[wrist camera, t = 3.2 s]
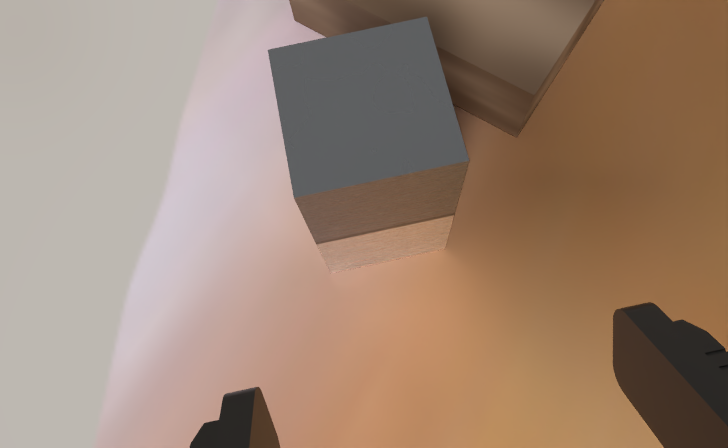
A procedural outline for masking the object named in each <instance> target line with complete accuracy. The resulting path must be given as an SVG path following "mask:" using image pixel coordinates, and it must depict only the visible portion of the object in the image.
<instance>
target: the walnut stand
mask: <svg viewBox="0 0 728 448" xmlns="http://www.w3.org/2000/svg"><path fill="white" fill-rule="evenodd" d="M289 1H290V5H291V8H292V12H293V16H294V20H295V21H297V22H299V23H301V24H303V25H304V26H306V27H308V28H310V29H312V30H314V31H316V32H318V33H320V34H322V35H323V36H325V37H332V36H337V35H341V34H346V33H351V32H356V31H360V30H365V29H370V28H375V27H379V26H384V25H389V24H394V23H399V22H403V21H408V20H413V19H418V18H422V17H427V18H428V22H429V25H430V29H431V32H432V35H433V39H434V42H435V46H436V49H437V52H438V56H439V59H440V63H441V66H442V70H443V73H444V76H445V80H446V83H447V87H448V90H449V93H450V97H451V100H452V104H454V105H456V106H458V107H460V108H462V109H464V110H465V111H467V112H469V113H471V114H473V115H475V116H477V117H479V118H481V119H482V120H484V121H486V122H488V123H490V124H492V125H494V126H496V127H498V128H500V129H501V130H503V131H505V132H507V133H509V134H511V135H513V136H515V137H517V136H518V135H519V133H520V132H521V130H522V129H523V127H524V125H525V124H526V122H527V121H528V119H529V118H530V116H531V114H532V113H533V111H534V110H535V108H536V107H537V105H538V103H539V102H540V100H541V99H542V97H543V96H544V94H545V92H546V91H547V89H548V88H549V86H550V84H551V83H552V81H553V80H554V78H555V77H556V75H557V73H558V72H559V70H560V69H561V67H562V66H563V64H564V62H565V61H566V59H567V58H568V56H569V55H570V53H571V51H572V50H573V48H574V47H575V45H576V44H577V42H578V40H579V39H580V37H581V36H582V34H583V33H584V31H585V29H586V28H587V26H588V25H589V23H590V22H591V20H592V18H593V17H594V15H595V14H596V12H597V11H598V9H599V7H600V6H601V4H602V3H603V1H604V0H289Z"/></svg>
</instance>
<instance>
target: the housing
mask: <svg viewBox="0 0 728 448" xmlns="http://www.w3.org/2000/svg"><path fill="white" fill-rule="evenodd" d="M268 53H269V59H270V64H271V70H272V76H273V81H274V87H275V93H276V98H277V104H278V110H279V116H280V121H281V127H282V133H283V138H284V144H285V150H286V155H287V161H288V167H289V172H290V178H291V184H292V189H293V195H294V199H295V201H296V203H297V205H298V207H299V209H300V211H301V213H302V215H303V218H304V220H305V222H306V224H307V226H308V228H309V230H310V232H311V234H312V236H313V238H314V240H315V242H316V244H317V246H318V249H319V251H320V253H321V255H322V257H323V259H324V261H325V263H326V265H327V267H328V269H329V271H330V273H331V274H332V273H337V272H341V271H346V270H351V269H355V268H360V267H365V266H369V265H374V264H379V263H383V262H388V261H393V260H397V259H402V258H407V257H411V256H416V255H421V254H425V253H430V252H435V251H439V250H444V249H445V247H446V243H447V240H448V236H449V233H450V229H451V225H452V222H453V218H454V214H455V211H456V207H457V203H458V200H459V196H460V193H461V189H462V185H463V182H464V178H465V174H466V171H467V167H468V163H469V158H468V155H467V151H466V148H465V144H464V141H463V138H462V134H461V131H460V127H459V124H458V121H457V117H456V114H455V110H454V107H453V104H452V100H451V97H450V93H449V90H448V87H447V83H446V80H445V76H444V73H443V70H442V66H441V63H440V59H439V56H438V52H437V49H436V46H435V42H434V39H433V35H432V32H431V29H430V25H429V22H428V18H427V17H422V18H418V19H413V20H408V21H403V22H399V23H394V24H389V25H384V26H379V27H375V28H370V29H365V30H360V31H356V32H351V33H346V34H341V35H337V36H332V37H327V38H322V39H318V40H313V41H308V42H303V43H298V44H294V45H289V46H284V47H279V48H275V49H270V50H268Z"/></svg>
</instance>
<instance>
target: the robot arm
mask: <svg viewBox="0 0 728 448" xmlns="http://www.w3.org/2000/svg"><path fill="white" fill-rule="evenodd" d="M613 368H614V372H615V376H616V379H617V381H618V383H619V386H620V387H621V389H622V391H623V392H624V394H625V395H626V396H627V398H628V399H629V400H630V402H631V403H632V405H633V406H634V407H635V409H636V410H637V411H638V413H639V414H640V415H641V417H642V418H643V419H644V421H645V422H646V424H647V425H648V426H649V428H650V429H651V430H652V432H653V433H654V434H655V436H656V437H657V438H658V440H659V441H660V442H661V444H662V445H663V447H664V448H728V352H726V350H725V348H724V347H723V346H722V345H721V344H720V343H719V342H718V341H717V340H716V339H714V338H713V337H712V336H711V335H710V334H709V333H708V332H707V331H705V330H703V329H701V328H699V327H697V326H694V325H692V324H690V323H688V322H686V321H684V320H678V321H674V322H673V321H672V320H671V319H670V318H669V317H668V316H667V315H666V314H665V313H664V312H663V311H662V310H661V309H660V308H658V307H657V306H656V305H655V304H654V303H651V302H648V303H644V304H639V305H635V306H630V307H626V308H621V309H617V310H616V311H615V312H614V316H613ZM190 448H280V445H279V440H278V436H277V433H276V431H275V428H274V425H273V422H272V419H271V416H270V414H269V411H268V408H267V405H266V402H265V400H264V397H263V394H262V392H261V390H260V388H259V387H255V388H250V389H246V390H241V391H236V392H232V393H227V394H225V395H224V397H223V401H222V407H221V412H220V418H219V420H217V421H212V422H207V423H204V424H203V426H202V427H201V429H200V430H199V432H198V433H197V435H196V436H195V438H194V439H193V441H192V442H191V444H190Z"/></svg>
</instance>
